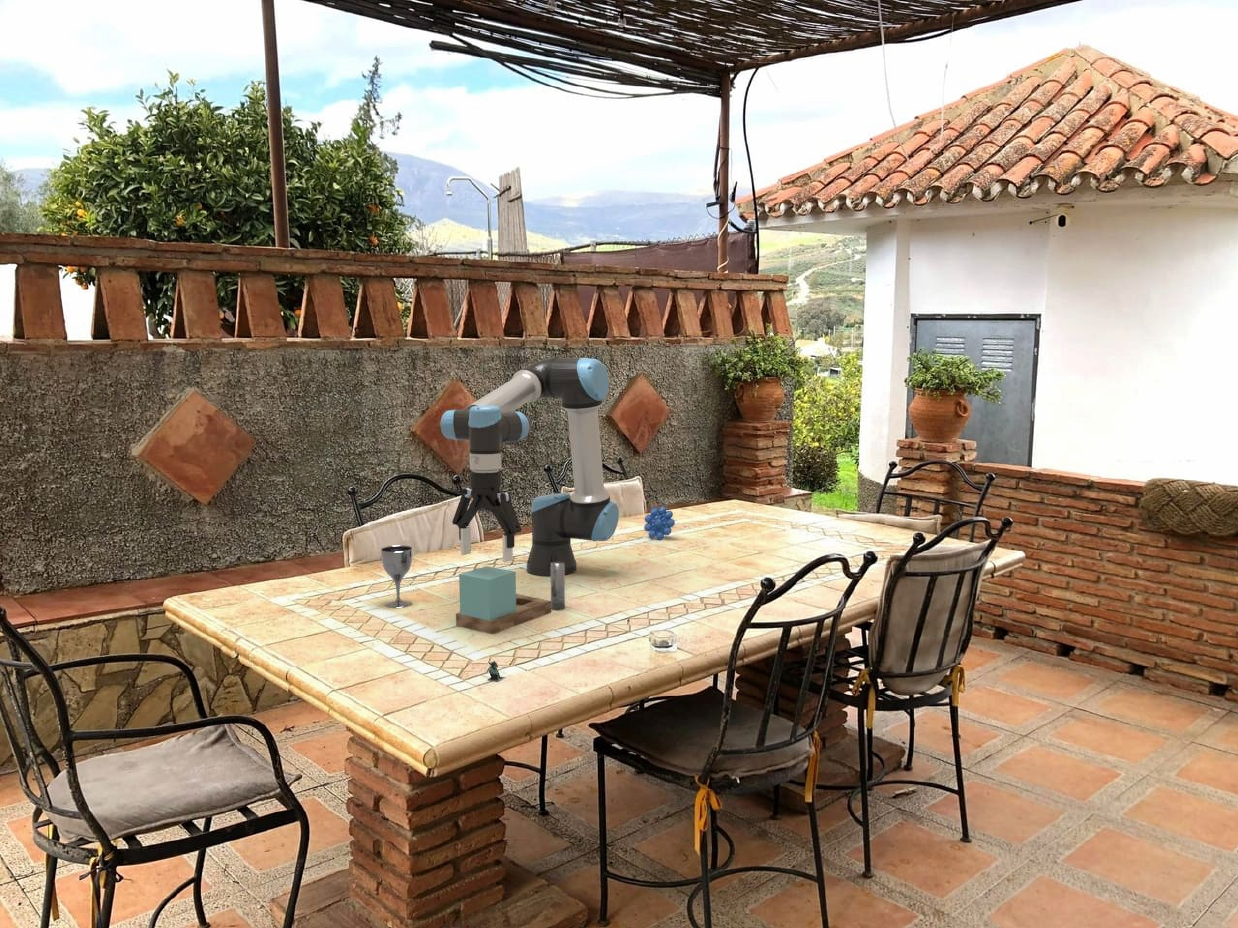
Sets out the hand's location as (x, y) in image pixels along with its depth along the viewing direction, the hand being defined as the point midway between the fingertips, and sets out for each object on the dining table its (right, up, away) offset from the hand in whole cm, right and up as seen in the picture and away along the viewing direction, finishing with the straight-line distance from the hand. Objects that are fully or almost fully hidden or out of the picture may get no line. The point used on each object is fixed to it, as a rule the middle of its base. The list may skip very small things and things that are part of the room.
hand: (486, 557), depth 227 cm
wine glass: (-26, -15, +21) cm, 36 cm away
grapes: (+47, -4, +102) cm, 112 cm away
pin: (+16, -15, +17) cm, 28 cm away
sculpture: (+7, -22, -35) cm, 42 cm away
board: (+4, -16, +7) cm, 18 cm away
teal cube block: (0, -14, +2) cm, 14 cm away
